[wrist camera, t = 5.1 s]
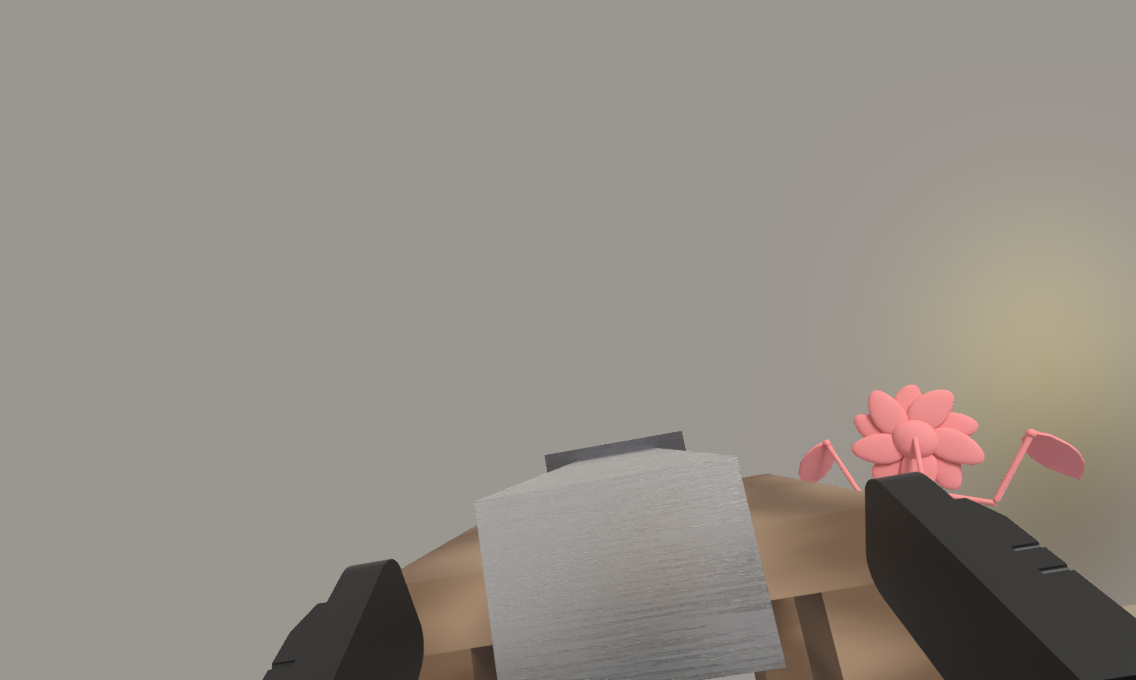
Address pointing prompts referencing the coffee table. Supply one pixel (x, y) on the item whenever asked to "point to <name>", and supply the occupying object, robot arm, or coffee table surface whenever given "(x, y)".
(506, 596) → the brushed grey block
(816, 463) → the figurine
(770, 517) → the walnut stand
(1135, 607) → the coffee table surface
